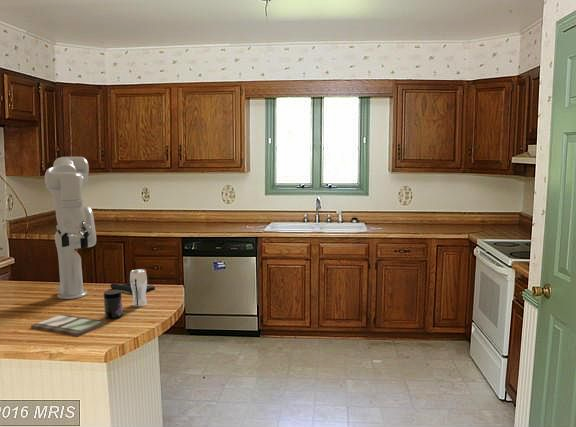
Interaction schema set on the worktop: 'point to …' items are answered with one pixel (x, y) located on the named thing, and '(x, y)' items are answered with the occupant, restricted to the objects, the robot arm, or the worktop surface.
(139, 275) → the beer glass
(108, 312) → the supplement container
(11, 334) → the worktop surface
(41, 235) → the worktop surface
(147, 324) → the worktop surface
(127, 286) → the door handle
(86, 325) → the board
